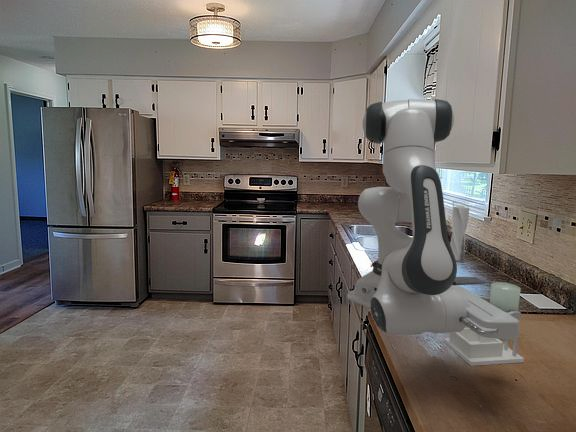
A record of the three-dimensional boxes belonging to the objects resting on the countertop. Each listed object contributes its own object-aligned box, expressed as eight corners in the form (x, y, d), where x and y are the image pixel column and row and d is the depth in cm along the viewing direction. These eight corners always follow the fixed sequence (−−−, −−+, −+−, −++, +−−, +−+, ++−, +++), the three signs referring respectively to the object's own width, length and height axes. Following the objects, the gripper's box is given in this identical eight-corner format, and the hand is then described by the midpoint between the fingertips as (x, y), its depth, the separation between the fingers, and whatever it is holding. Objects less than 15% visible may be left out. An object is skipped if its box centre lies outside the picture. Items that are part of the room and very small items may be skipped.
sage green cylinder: (483, 334, 84) (488, 286, 82) (490, 326, 88) (495, 280, 86) (511, 343, 81) (517, 292, 79) (517, 334, 85) (523, 286, 83)
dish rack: (470, 365, 91) (473, 334, 90) (443, 341, 103) (445, 313, 102) (523, 362, 93) (527, 331, 92) (490, 339, 105) (493, 311, 104)
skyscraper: (444, 259, 187) (449, 202, 182) (450, 256, 193) (455, 200, 188) (462, 263, 181) (468, 203, 177) (467, 259, 187) (473, 202, 183)
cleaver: (421, 288, 146) (422, 283, 146) (408, 280, 155) (408, 275, 155) (488, 285, 152) (489, 279, 152) (471, 277, 162) (472, 272, 161)
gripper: (480, 317, 71) (547, 314, 73) (425, 280, 91) (479, 279, 93) (476, 349, 72) (543, 345, 74) (423, 306, 92) (476, 304, 94)
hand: (506, 308), depth 84 cm, fingers closed on sage green cylinder, 5 cm apart
